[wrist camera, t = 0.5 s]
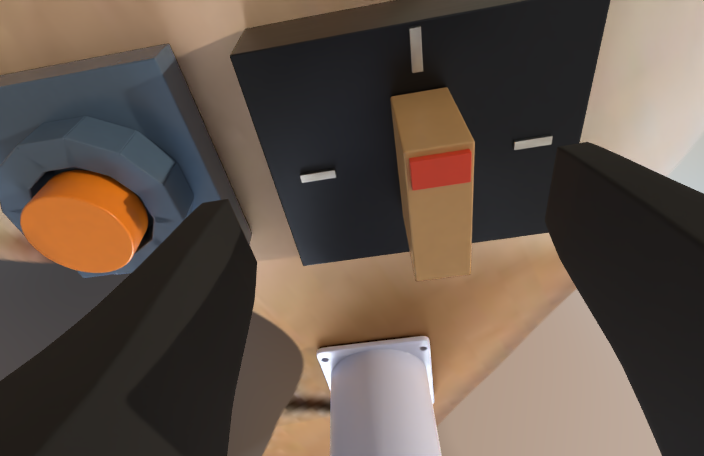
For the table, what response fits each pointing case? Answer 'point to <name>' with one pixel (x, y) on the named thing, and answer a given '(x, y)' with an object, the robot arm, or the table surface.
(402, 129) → the tan rectangular block
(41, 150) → the button box
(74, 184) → the button
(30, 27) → the table surface
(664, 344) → the robot arm
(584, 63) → the control panel
